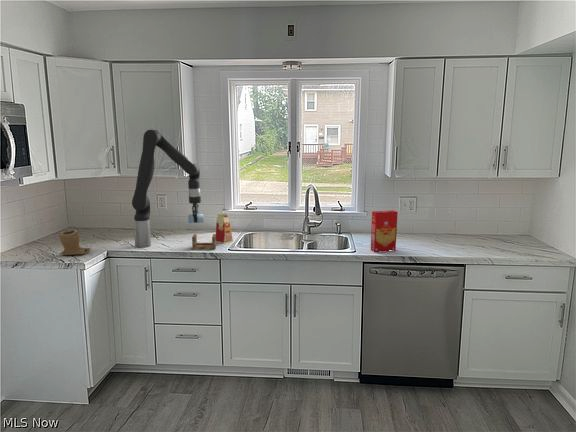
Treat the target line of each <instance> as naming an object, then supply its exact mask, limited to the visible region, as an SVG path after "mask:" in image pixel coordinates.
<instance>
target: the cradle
mask: <svg viewBox="0 0 576 432" xmlns="http://www.w3.org/2000/svg"><path fill="white" fill-rule="evenodd" d="M191 244H192V245H191V247H192V250H193V251H195V250H196V251H199V250H201V251H202V250H205V251H206V250H207V251H208V250H216V247H217V242H216V233H213V234H212V236H211V242H198V241H197V233H193V235H192V237H191Z"/></svg>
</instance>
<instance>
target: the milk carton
mask: <svg viewBox="0 0 576 432" xmlns="http://www.w3.org/2000/svg"><path fill="white" fill-rule="evenodd" d="M229 217H230V216H228V215H227V213H226V212H225V213H221V214H220V213H219V214H217V218H216V223H215V234H216V244H218V243H219V244H223V245H225V244H228V243H233V242H234V239H233V233H232V227H231V222H230V218H229Z"/></svg>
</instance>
